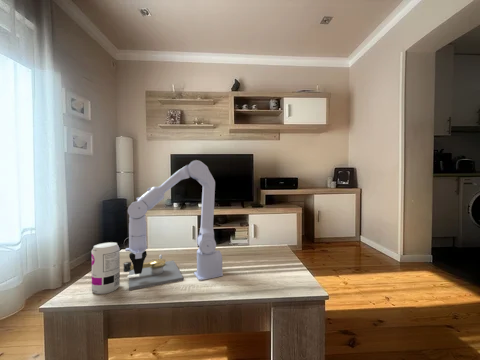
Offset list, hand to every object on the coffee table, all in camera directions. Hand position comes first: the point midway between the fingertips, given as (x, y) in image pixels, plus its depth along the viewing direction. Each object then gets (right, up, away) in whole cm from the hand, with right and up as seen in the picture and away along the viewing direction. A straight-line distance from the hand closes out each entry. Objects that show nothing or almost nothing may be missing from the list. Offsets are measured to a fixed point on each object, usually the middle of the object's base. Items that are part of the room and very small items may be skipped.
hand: (138, 273), depth 83 cm
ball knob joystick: (0, 0, +6) cm, 6 cm away
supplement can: (-9, -4, -4) cm, 11 cm away
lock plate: (+3, -4, +8) cm, 9 cm away
